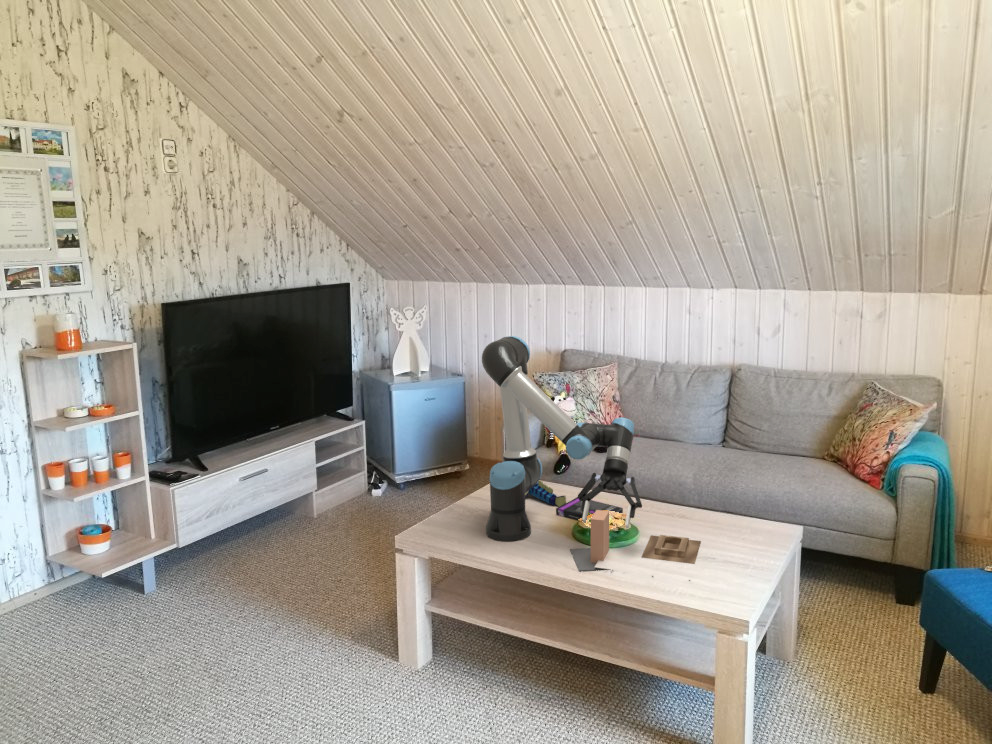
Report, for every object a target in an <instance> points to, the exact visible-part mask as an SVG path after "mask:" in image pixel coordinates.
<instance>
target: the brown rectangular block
mask: <svg viewBox="0 0 992 744" xmlns="http://www.w3.org/2000/svg"><path fill="white" fill-rule="evenodd" d="M590 548H591V562H593V563H597V564H598V563H599V562H598V561H604V560H605V558H607V555H608V553H609V552H610V523H609V511H603V510H596V512H595V513H594V515H593V516H592V518H591V524H590Z"/></svg>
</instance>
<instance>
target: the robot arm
mask: <svg viewBox="0 0 992 744" xmlns="http://www.w3.org/2000/svg"><path fill="white" fill-rule="evenodd" d="M530 357H531V351H530V347H529V345H528V343H527V342H526V341H525V340H524V339H523V338H521V337H519V336H516V335H515V336H514V335H509V336H504V337H501V338H499V339H497V340H495V341H492V342H490V343H489V344H487V345H486V346H485V348H484V349H483V351H482V353H481V363H482V367H483V369H484V371H485V372H486V373H487V375H488V377H490V379H492V381H493V382H494V383H496V384H497V385H498V387H499V392H500V401H501V402H500V403H501V409H502V418H503V429H504V437H505V444H506V445H505V446H506V450H505V451H504V452H503V454H502V457H503V461H502V462H497V463H496V464H494V465H492V467H491V469H490V471H489V492H490V495H489V497H490V513H489V516H488V519H487V523H486V527H485V532H486V533H485V534H486V535H488V536H489V538H490V539H493V540H495V541H500V542H502V541H503V542H515V541H519V540H524V539H526V538H528V537H530V535H531V533H532V525H531V523H530V519H529V517H528V514H527V511H526V497H525V494H526V493H527V492H528V491H529V490H530V489H531V488H532V487H534V486H535V485H536V484H537V483H538V481H539V480H540V479H541V477H542V475H543V464H542V462H541V460H540V458H538V456H537V450H536V449H535V448H533V447H532V442H531V433H530V425H529V415H528V414H529V413H528V411H529V412H530V413H532V415H533V416H534V417H535V418H536V419H538V421H540V423H541V424H542V425H544V426H545V428H547V429H548V431H550V432H551V433H552V434H553V435H554V436H555V437H556V438H557V439H558V440H559V441H560V442H561V443H562V444H563V445H564V446H565V451H566V453H567V455H568V457H570V458H572V459H573V460H579V461H580V460H582V459H584V458H586V457H588V456H589V455H590V454H591V452H592V451H593V450H594V449H595V448H597V447H599V448H600V447H603V448H606V450H607V451H606V455H605V461H604V465H603V469H602V474H597V473H596V472H593V473H592V474H591V477H590V479H589V481H588V482H587V483H586V484H585V486H584V487H583V488H582V489H581V491H580V492H579V493H578V494H577V497H578V498H579V500H580V501H582V506H581V510H582V512H583V517H582V521H583V522H582V523H583V524H587V523H586V520H587V515H588V510H589V505H590V504H589V501H590V500H593V499H594V498H595V497H597V496H598V495H599V494H600V493H601V492H604V491H605V490H607V491H615V492H618V491H620V492H621V493H622V495H623V496H624V498H625V499H626V501H627V502H628V504H629V505H628V506H627V513H626V518H625V524H624V525H625V528H626V529H628V530H629V529H630V525H631V519H634V518H635V514H636V509H639V508H640V509H641V508H643V503H642V500H641V498H640V495H639V493H638V490H637V486H636V484H637V483H636V478H635V477H634V476H631V477H629V478H627V475H628V468H629V462H630V457H631V451H632V444H633V440H634V435H635V424H634V422H633V420H631V419H628V418H626V417H616V418H614V419H613V420H612V422H611V424H609V423H608V424H604V423H602V424H601V423H593V422H576V421H574V419H572V418H571V417H570V416H569V415H568V414H567V413H566V412H565V411H564V410H563V409H562V408H561V407H560V406H559V405H557V404H556V403H555V402H554V400H552V399H551V398H550V396H548V395H547V394H546V393H545V392H544V390H542V389H541V388H540V387H539V386H538V385H537V384H536V383H535V382H534V381H533V380H532V379H530V377H528V362H529V360H530ZM598 481H601V482H599V483H598V485H597V486H595V485H596V483H597V482H598ZM627 483H628V485H629V486H630V487H631V490H632V492H633V496H634V498H635V501H634V500H633V498H632V496H631V495H630V493H629V492H628V491H627V489H626V488H625V485H626V484H627ZM594 486H595V487H594ZM593 487H594V488H593ZM592 488H593V489H592ZM488 536H487V537H488Z"/></svg>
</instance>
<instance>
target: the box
mask: <svg viewBox="0 0 992 744" xmlns="http://www.w3.org/2000/svg"><path fill="white" fill-rule="evenodd" d="M589 504H590V505H589V510H588V515H590V514H593V513H595V512H596V510H609V511H615V512H619V513H624V510H623V509H624V508H623V507H621V506H616V505H612V504H608V503H604V502H600V501H596V500H593V499H591V500H590V501H589ZM581 506H582V501H580V500H579V498H578V496H577V497H575V498H573V499H571V500H569V501H567V502H566V504H564V505H562V506H560V507H558V506H557V507H556V508H555V515H556V516H558V517H562V518H566V519H570V520H575V521H578V519H580V518H582V517H583V512H582V510H581ZM588 515H587V516H588Z"/></svg>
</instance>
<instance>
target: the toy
mask: <svg viewBox="0 0 992 744" xmlns="http://www.w3.org/2000/svg"><path fill="white" fill-rule="evenodd" d="M528 495H529V496H532V497H535V498H537V499H539V500H541V501H543V502H545V503H547V504H550V505H552V506H557V508H558V507H560V506H562V505H564V504H566V503H567V498H566V497H567V496H566V495H560V496H557V494H555V493H554V489H553V488H552V487H550V486H548V485H547V484H544V482H543V481H541V480H540V479H539V481H538V483H537V484H536V485H535V486H534V487H532V488H531V489H530V490H529V491H528V492H527V493H526V494H525V498H526V497H527V496H528Z"/></svg>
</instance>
